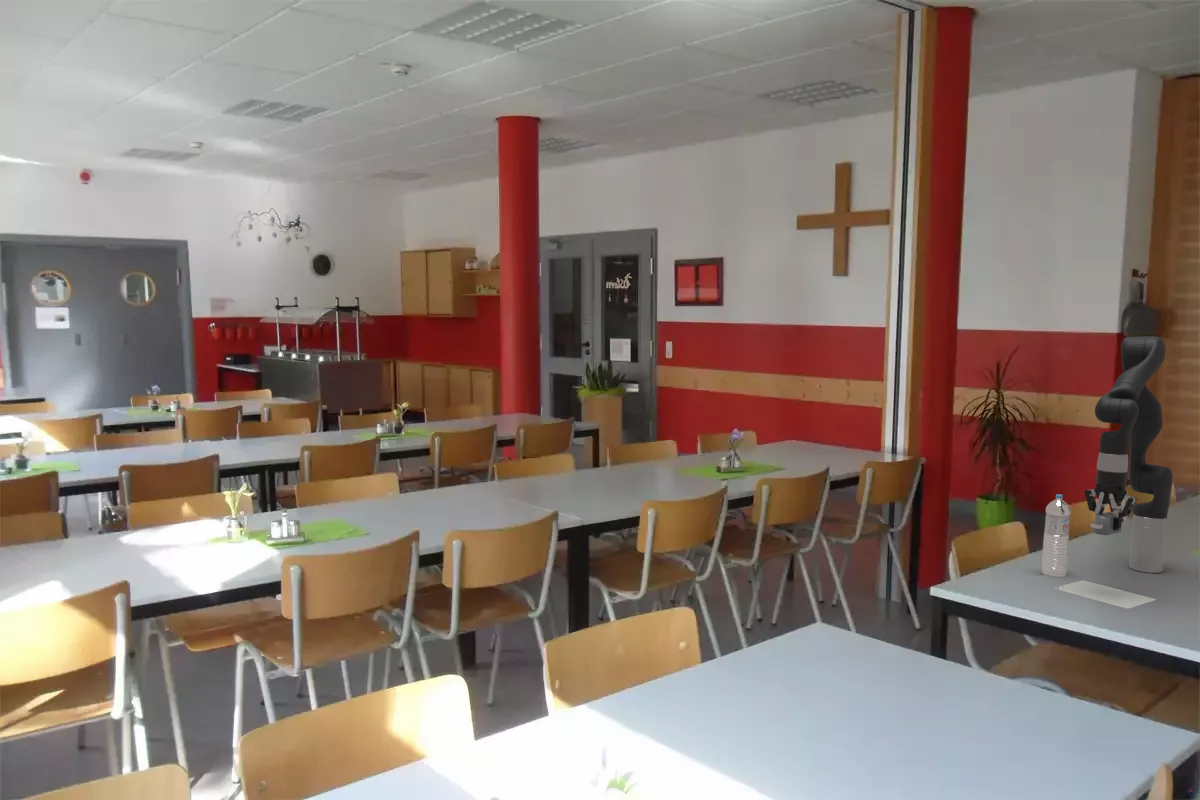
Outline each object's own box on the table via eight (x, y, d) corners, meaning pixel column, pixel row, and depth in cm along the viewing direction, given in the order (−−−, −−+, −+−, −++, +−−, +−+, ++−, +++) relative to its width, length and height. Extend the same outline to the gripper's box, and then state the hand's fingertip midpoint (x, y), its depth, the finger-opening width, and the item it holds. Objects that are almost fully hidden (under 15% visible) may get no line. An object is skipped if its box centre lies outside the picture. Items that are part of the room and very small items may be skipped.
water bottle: (1052, 579, 276) (1058, 497, 274) (1036, 572, 283) (1041, 493, 281) (1071, 578, 278) (1077, 496, 276) (1054, 571, 285) (1060, 492, 282)
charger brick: (1109, 528, 265) (1110, 511, 265) (1123, 531, 262) (1125, 514, 261) (1087, 533, 258) (1088, 515, 258) (1101, 536, 255) (1102, 518, 255)
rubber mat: (1082, 582, 274) (1082, 580, 274) (1157, 601, 257) (1157, 599, 257) (1052, 590, 265) (1052, 588, 265) (1127, 610, 248) (1127, 608, 248)
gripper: (1145, 471, 255) (1140, 532, 257) (1094, 464, 267) (1089, 522, 269) (1131, 474, 251) (1126, 535, 253) (1080, 466, 263) (1075, 525, 264)
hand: (1107, 528), depth 261 cm, fingers closed on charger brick, 4 cm apart
